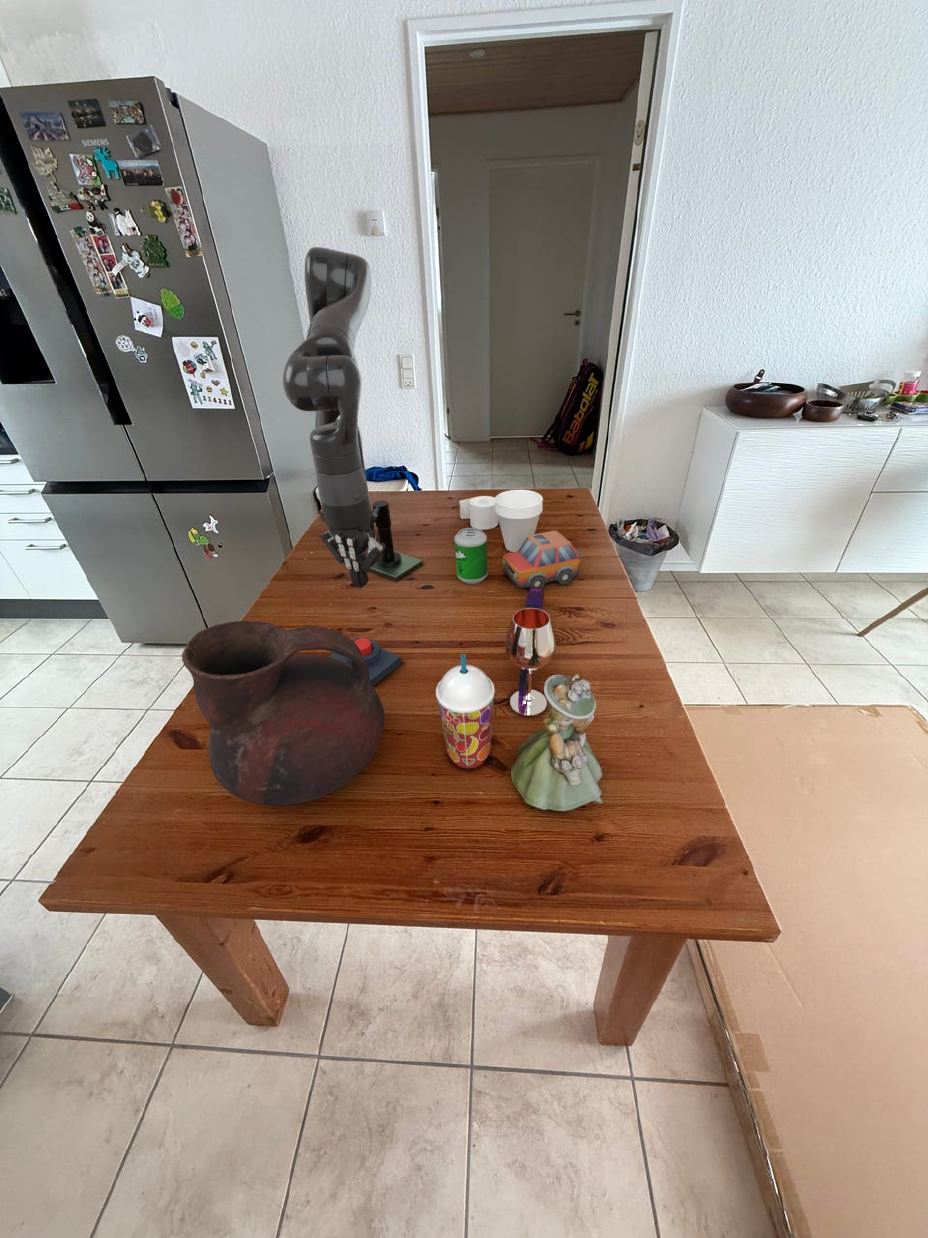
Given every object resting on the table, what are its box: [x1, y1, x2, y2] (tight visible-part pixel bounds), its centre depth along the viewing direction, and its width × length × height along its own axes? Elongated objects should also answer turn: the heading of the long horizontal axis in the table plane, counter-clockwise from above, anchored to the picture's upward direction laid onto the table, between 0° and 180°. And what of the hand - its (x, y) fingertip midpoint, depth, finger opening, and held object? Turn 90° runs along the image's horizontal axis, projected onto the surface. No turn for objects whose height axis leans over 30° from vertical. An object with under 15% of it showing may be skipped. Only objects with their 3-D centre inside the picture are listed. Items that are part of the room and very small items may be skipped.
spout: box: [370, 500, 392, 529], centre depth 119 cm, size 15×4×6 cm, turn 170°
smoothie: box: [435, 653, 496, 769], centre depth 74 cm, size 8×8×20 cm
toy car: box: [502, 530, 584, 590], centre depth 121 cm, size 12×17×10 cm
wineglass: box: [504, 607, 557, 717], centre depth 84 cm, size 8×8×18 cm
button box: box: [328, 636, 402, 688], centre depth 99 cm, size 12×8×4 cm, turn 54°
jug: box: [181, 620, 385, 807], centre depth 73 cm, size 25×25×25 cm
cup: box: [494, 489, 544, 553], centre depth 133 cm, size 12×12×14 cm
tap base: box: [367, 526, 423, 582], centre depth 129 cm, size 14×10×11 cm
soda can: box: [454, 527, 489, 585], centre depth 121 cm, size 8×8×12 cm
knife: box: [518, 587, 545, 709], centre depth 98 cm, size 37×4×5 cm, turn 169°
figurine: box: [510, 673, 604, 812], centre depth 69 cm, size 14×14×20 cm
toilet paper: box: [458, 495, 499, 531], centre depth 148 cm, size 8×11×7 cm
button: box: [354, 638, 372, 657], centre depth 97 cm, size 4×4×2 cm
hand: (360, 585), depth 92 cm, fingers closed
